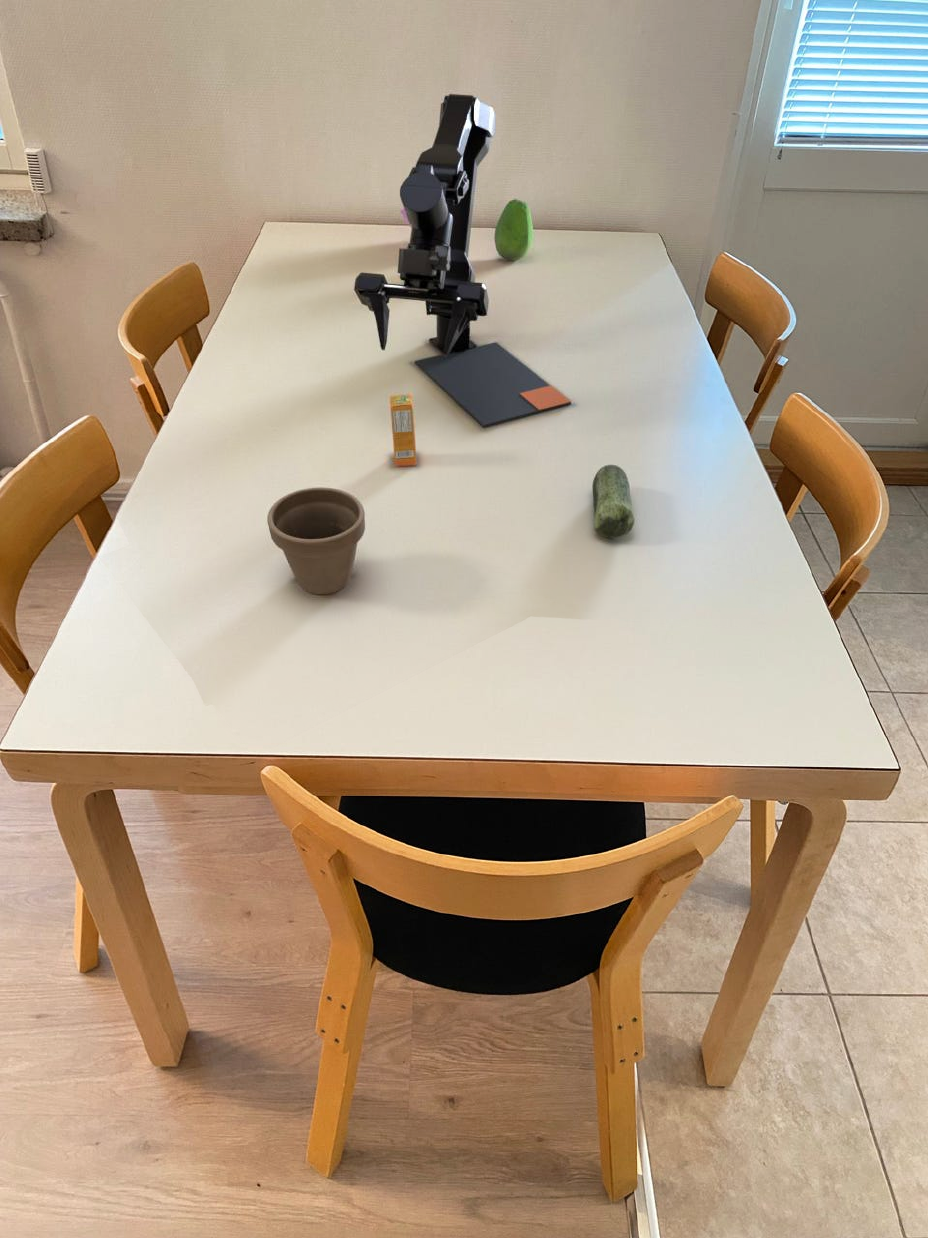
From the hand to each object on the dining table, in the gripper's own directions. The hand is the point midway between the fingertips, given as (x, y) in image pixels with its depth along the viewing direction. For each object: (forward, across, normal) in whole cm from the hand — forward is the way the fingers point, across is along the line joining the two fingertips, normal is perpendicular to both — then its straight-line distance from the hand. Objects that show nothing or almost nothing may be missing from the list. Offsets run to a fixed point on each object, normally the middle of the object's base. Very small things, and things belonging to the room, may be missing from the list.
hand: (413, 352), depth 138 cm
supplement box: (+15, 0, +4) cm, 16 cm away
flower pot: (+35, -4, -16) cm, 39 cm away
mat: (-4, +9, +22) cm, 24 cm away
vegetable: (+20, +30, -1) cm, 37 cm away
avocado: (-42, +5, +61) cm, 74 cm away
